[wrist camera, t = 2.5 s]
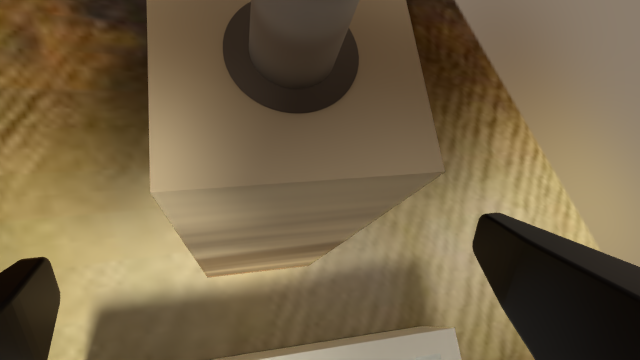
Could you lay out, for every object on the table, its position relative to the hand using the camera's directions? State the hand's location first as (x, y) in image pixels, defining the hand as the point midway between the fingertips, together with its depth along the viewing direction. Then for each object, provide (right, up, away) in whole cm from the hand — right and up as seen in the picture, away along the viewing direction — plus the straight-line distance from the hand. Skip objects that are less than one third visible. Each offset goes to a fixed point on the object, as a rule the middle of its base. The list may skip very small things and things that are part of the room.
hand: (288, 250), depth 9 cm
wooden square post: (-2, 0, +10) cm, 10 cm away
